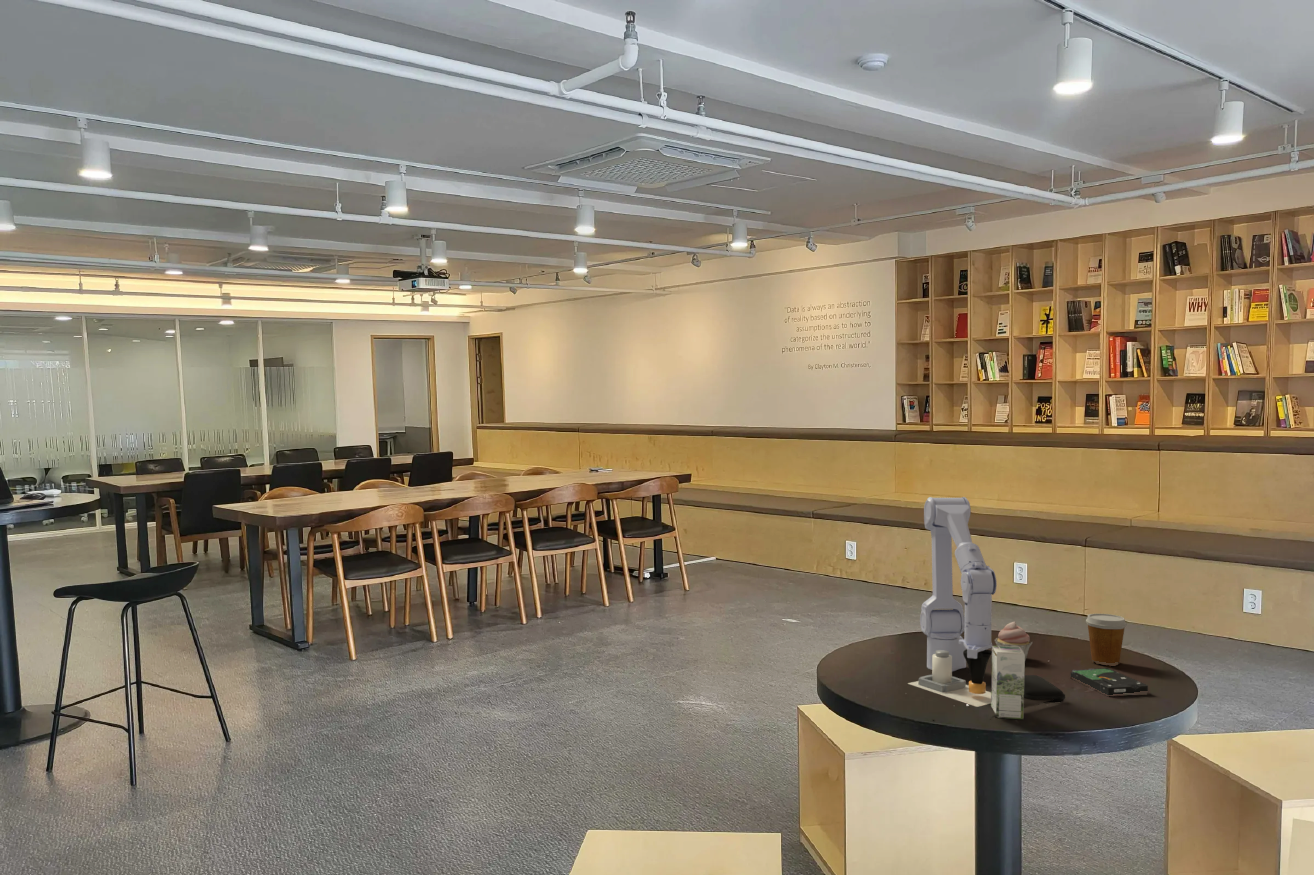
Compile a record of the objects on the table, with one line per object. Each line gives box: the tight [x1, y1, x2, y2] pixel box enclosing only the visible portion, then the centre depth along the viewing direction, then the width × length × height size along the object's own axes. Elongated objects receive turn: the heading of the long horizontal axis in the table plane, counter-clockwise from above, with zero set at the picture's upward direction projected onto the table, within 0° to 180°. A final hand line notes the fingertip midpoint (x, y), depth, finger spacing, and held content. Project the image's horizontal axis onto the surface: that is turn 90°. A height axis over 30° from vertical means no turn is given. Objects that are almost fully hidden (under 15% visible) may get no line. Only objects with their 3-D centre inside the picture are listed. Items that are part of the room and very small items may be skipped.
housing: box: [907, 674, 991, 708], centre depth 211 cm, size 11×20×2 cm, turn 32°
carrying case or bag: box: [1024, 674, 1066, 704], centre depth 212 cm, size 11×3×15 cm
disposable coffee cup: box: [1085, 613, 1127, 663], centre depth 238 cm, size 10×10×12 cm
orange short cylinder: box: [968, 680, 987, 694], centre depth 206 cm, size 4×4×2 cm
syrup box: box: [990, 644, 1026, 720], centre depth 197 cm, size 6×6×14 cm
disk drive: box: [1070, 667, 1149, 695], centre depth 218 cm, size 10×3×15 cm
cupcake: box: [994, 621, 1034, 661], centre depth 242 cm, size 9×9×10 cm
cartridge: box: [931, 650, 953, 685], centre depth 215 cm, size 4×4×8 cm
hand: (977, 682), depth 206 cm, fingers closed, pressing on orange short cylinder
